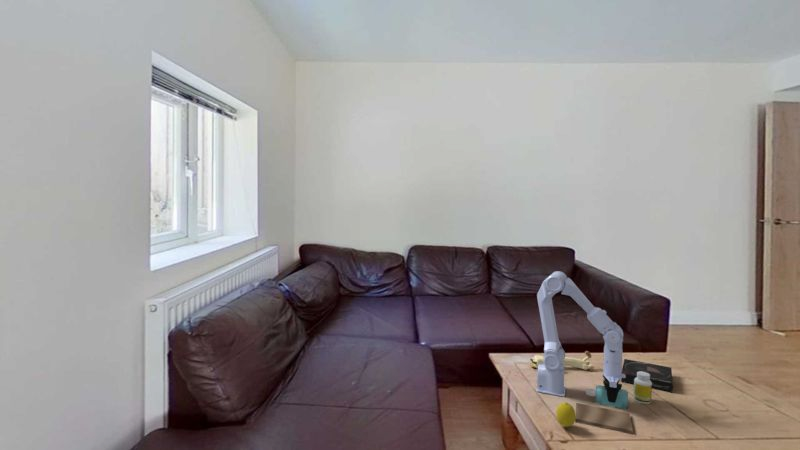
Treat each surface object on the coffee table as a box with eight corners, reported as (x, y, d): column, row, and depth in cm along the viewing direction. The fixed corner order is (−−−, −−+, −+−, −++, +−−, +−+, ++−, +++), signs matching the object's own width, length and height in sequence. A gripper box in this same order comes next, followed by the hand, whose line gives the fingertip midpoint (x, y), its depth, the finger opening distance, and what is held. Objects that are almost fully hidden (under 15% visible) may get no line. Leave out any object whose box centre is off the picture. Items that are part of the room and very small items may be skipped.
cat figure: (585, 367, 175) (526, 361, 176) (587, 347, 174) (528, 341, 175) (594, 377, 165) (532, 371, 166) (597, 356, 164) (534, 350, 165)
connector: (585, 401, 143) (586, 387, 142) (586, 396, 146) (586, 382, 146) (628, 409, 137) (628, 395, 137) (627, 404, 141) (627, 390, 140)
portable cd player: (670, 376, 163) (671, 366, 163) (672, 394, 149) (672, 383, 148) (624, 367, 172) (624, 358, 171) (621, 383, 157) (621, 373, 157)
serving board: (575, 421, 130) (575, 418, 130) (576, 405, 140) (576, 402, 140) (632, 433, 123) (632, 430, 123) (629, 416, 133) (629, 413, 133)
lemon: (552, 422, 129) (553, 398, 129) (569, 421, 130) (570, 397, 129) (561, 432, 124) (561, 407, 123) (578, 431, 124) (579, 406, 124)
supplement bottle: (653, 405, 140) (654, 377, 139) (636, 403, 141) (637, 376, 140) (647, 397, 145) (648, 371, 145) (631, 396, 146) (632, 369, 146)
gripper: (627, 371, 132) (626, 411, 133) (624, 355, 145) (623, 392, 146) (603, 367, 135) (602, 406, 136) (602, 352, 148) (601, 388, 149)
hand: (611, 398), depth 141 cm, fingers closed on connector, 4 cm apart
